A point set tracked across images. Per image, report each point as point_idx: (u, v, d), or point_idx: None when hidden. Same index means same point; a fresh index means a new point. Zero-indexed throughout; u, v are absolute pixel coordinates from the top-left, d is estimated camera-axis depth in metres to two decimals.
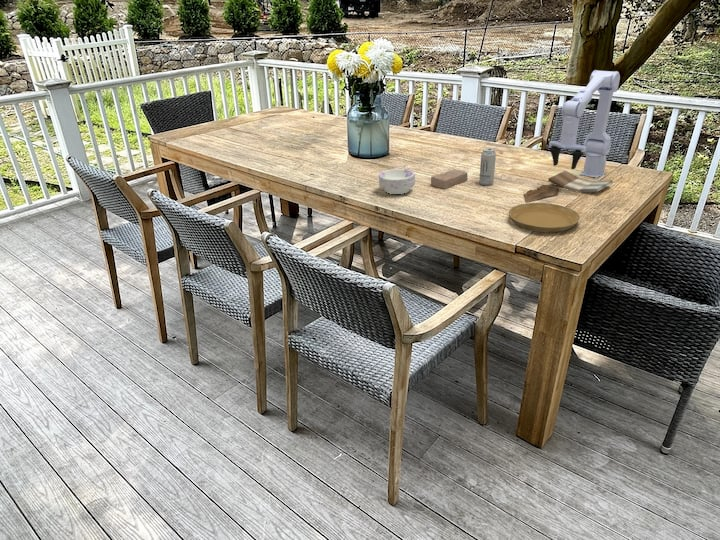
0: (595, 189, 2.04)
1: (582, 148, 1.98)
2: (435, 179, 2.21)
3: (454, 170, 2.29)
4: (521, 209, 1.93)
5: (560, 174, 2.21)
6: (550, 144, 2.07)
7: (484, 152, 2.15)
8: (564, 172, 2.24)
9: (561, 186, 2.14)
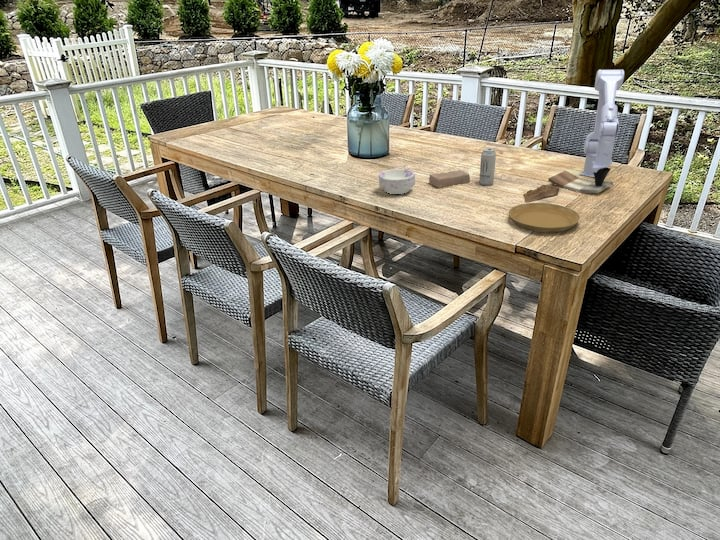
0: (595, 191, 2.04)
1: None
2: (432, 177, 2.23)
3: (458, 171, 2.28)
4: (521, 209, 1.93)
5: (560, 174, 2.21)
6: None
7: (484, 152, 2.15)
8: (564, 172, 2.24)
9: (561, 186, 2.14)
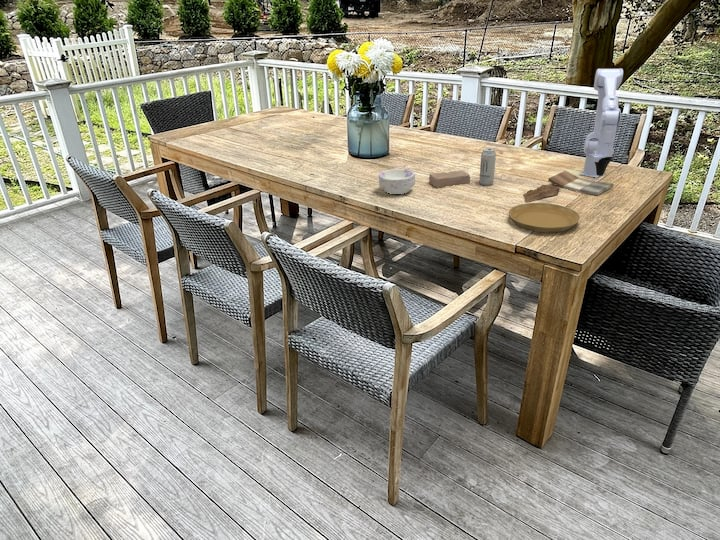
0: (595, 192, 2.05)
1: None
2: (431, 177, 2.24)
3: (460, 171, 2.28)
4: (521, 209, 1.93)
5: (560, 174, 2.21)
6: None
7: (484, 152, 2.15)
8: (564, 172, 2.24)
9: (561, 186, 2.14)
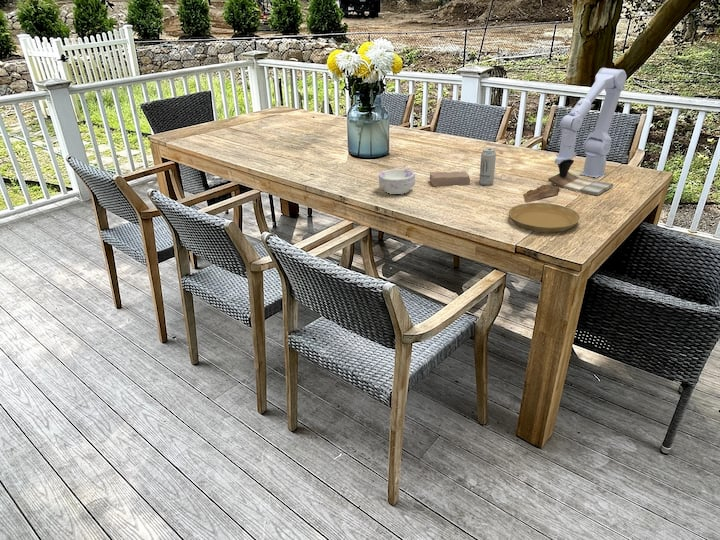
0: (595, 192, 2.05)
1: None
2: (430, 175, 2.26)
3: (462, 172, 2.27)
4: (521, 209, 1.93)
5: None
6: None
7: (484, 152, 2.15)
8: None
9: (561, 186, 2.14)
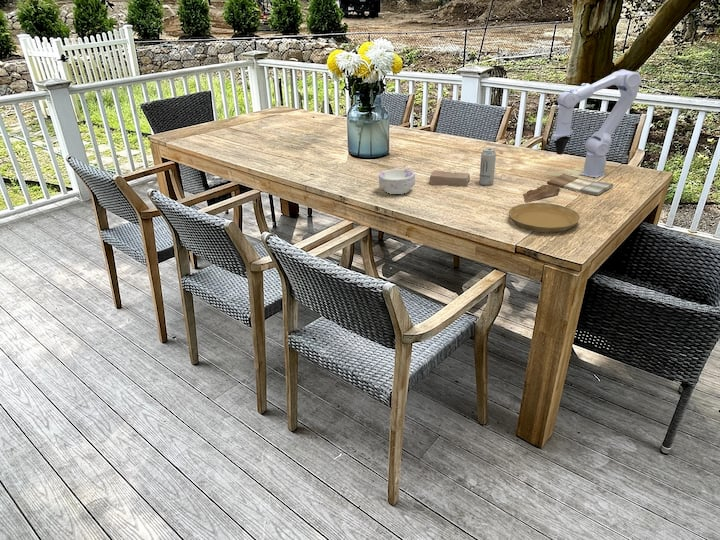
0: (595, 192, 2.05)
1: None
2: None
3: (464, 173, 2.25)
4: (521, 209, 1.93)
5: (558, 177, 2.22)
6: None
7: (484, 152, 2.15)
8: (562, 175, 2.25)
9: (561, 186, 2.14)
